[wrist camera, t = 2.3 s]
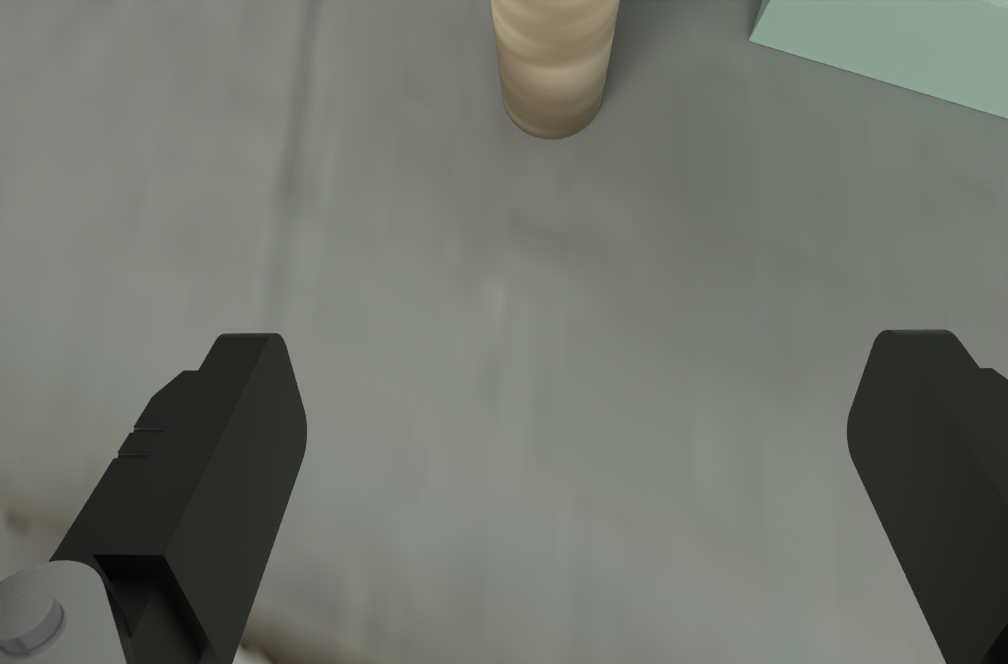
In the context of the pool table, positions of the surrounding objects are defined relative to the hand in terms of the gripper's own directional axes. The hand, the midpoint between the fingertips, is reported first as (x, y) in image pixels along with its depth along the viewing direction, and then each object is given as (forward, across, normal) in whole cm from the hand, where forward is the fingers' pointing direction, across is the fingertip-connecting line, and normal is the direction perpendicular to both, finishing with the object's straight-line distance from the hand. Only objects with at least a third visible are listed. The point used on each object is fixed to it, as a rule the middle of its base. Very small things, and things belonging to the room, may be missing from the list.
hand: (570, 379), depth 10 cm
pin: (+18, 0, +2) cm, 18 cm away
